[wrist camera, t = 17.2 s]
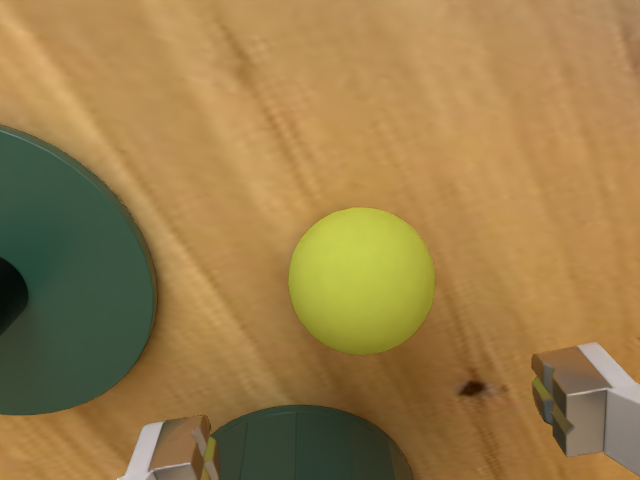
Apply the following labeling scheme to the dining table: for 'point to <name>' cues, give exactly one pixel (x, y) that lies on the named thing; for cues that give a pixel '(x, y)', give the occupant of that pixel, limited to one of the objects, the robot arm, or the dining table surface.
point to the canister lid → (66, 281)
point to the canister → (307, 447)
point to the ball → (361, 281)
